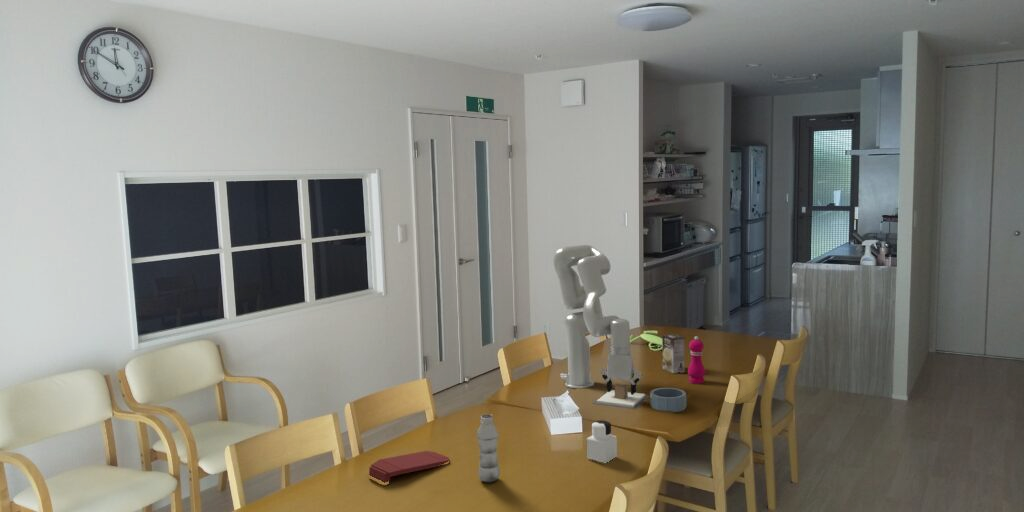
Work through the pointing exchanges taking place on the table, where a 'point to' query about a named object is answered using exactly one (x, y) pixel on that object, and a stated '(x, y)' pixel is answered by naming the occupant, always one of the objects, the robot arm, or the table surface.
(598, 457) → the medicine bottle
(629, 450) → the table surface
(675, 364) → the coffee box
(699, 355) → the pepper mill
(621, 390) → the cover
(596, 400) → the mat
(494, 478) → the plastic bottle
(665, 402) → the bowl
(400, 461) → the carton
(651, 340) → the figurine
